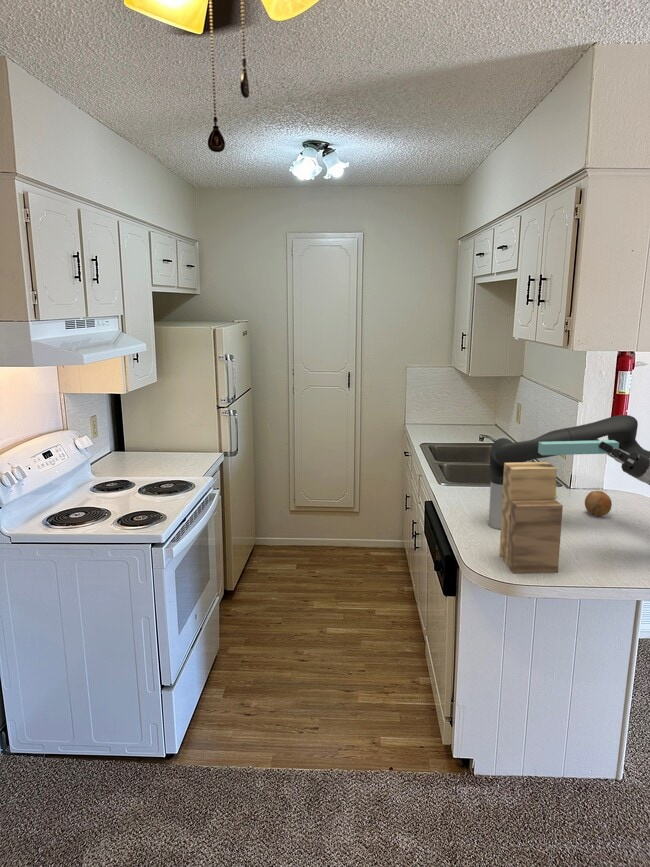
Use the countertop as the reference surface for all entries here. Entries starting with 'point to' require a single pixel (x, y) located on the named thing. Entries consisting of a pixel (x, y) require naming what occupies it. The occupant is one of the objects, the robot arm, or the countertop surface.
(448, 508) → the countertop surface
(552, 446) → the rail
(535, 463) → the stand
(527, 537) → the step
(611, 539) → the countertop surface
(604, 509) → the onion
